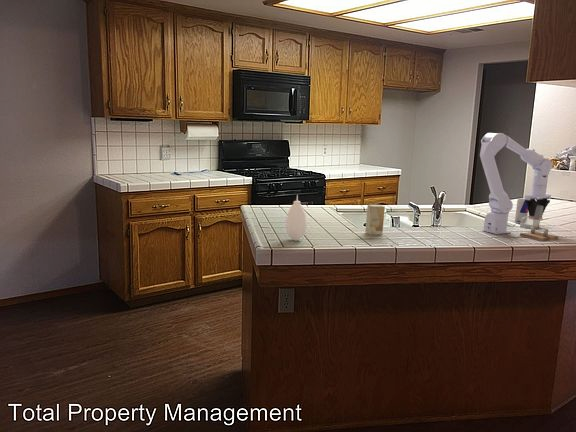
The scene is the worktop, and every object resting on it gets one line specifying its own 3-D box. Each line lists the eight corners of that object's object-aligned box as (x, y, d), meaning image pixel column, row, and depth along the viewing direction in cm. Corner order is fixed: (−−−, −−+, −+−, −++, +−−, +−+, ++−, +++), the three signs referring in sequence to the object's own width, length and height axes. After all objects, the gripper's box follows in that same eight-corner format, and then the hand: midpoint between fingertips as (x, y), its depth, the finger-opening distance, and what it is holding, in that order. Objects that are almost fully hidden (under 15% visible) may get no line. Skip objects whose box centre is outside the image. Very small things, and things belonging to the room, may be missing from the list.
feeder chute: (525, 225, 231) (527, 215, 230) (539, 227, 226) (540, 217, 226) (519, 227, 225) (520, 217, 224) (533, 229, 220) (534, 219, 220)
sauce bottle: (281, 239, 184) (282, 193, 181) (295, 237, 190) (297, 192, 187) (295, 243, 179) (297, 196, 176) (309, 240, 184) (311, 194, 181)
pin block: (540, 241, 196) (541, 231, 195) (519, 235, 205) (520, 226, 204) (557, 239, 201) (559, 229, 200) (536, 234, 210) (538, 224, 209)
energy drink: (527, 224, 233) (530, 200, 231) (516, 223, 234) (519, 199, 232) (524, 222, 238) (527, 198, 236) (513, 221, 239) (516, 197, 237)
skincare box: (369, 235, 197) (371, 206, 195) (364, 233, 201) (366, 204, 199) (383, 234, 199) (385, 206, 197) (378, 232, 203) (380, 204, 201)
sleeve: (536, 220, 209) (538, 206, 208) (525, 218, 214) (527, 204, 213) (545, 219, 211) (546, 206, 210) (533, 217, 216) (535, 204, 215)
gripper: (542, 183, 217) (538, 213, 219) (520, 184, 210) (516, 214, 213) (556, 185, 210) (552, 215, 213) (534, 186, 204) (530, 217, 207)
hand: (535, 215), depth 212 cm, fingers closed on sleeve, 5 cm apart
